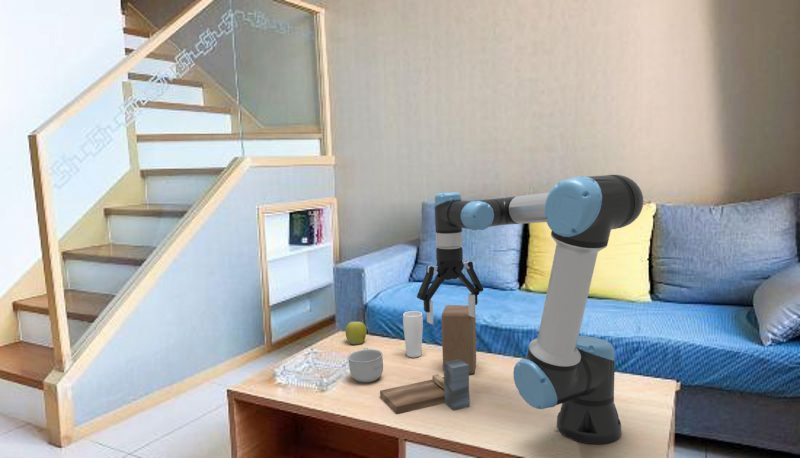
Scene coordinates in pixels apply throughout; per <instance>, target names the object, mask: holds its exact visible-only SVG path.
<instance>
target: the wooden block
mask: <svg viewBox="0 0 800 458" xmlns="http://www.w3.org/2000/svg"><path fill="white" fill-rule="evenodd" d="M476 323H477V321H476V317H471V316H469V306H468V305H467V304H466V305H462V304H461V305H460V304H459V305H458V304H457V305H456V304H447V305H445V307H444V308H443V311H442V313H441V340H442V341H441V345H442V346H441V347H442V371H443V372H444V362H447V361H452V360H457V359H460V360H462V361H463V362H465V363H466V364H468V365H469V375H472V374H474V373H475V369H476V365H477V332H476V331H477V329H476V328H477V325H476Z"/></svg>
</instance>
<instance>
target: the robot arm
mask: <svg viewBox="0 0 800 458" xmlns="http://www.w3.org/2000/svg"><path fill="white" fill-rule="evenodd" d="M643 206H644V195H643V192H642V190H641V188H640V186H639V185H638V184H637V183H636V182H635V181H634V180H633V179H631V178H630V177H627V176H624V175H621V174H607V175H604V174H603V175H594V176H593V175H592V176H590V175H589V176H584V175H580V176H574V177H571V178H567V179H566V178H565V179H563V180H560V181H559V182H558V183H556V184H555V185H554V186H553V187H552V188H551V190H550V191H549V192H542V193H534V194H532V193H531V194H526V195H518V196H508V197H501V198H500V197H499V198H491V199H489V198H488V199H487V198H486V199H477V200H462V195H461V193H460V192H457V191H456V192H452V191H451V192H450V191H449V192H437V193H436V194H435V196H434V206H433V209H434V224H435V225H434V226H435V246H436V249H435V252H436V254H435V255H436V256H435V258H436V265H429V264H428V265H426V267H425V268H426V269H425V270H426V272H425V275H424V278H423V280H422V283H421V284H420V287H419V289H418V292H417V295H416V298H417V299H419V301H423V310H424V312H425V313H426V322H427V323H429V324H430V325H434V303H433V302H434V301H433V300H431V299H432V298H433V297H434V295H435V294H436V292H437V291H438V289H439V287H440V286H441V285H442V283H444V282H445V281H450V280H456V279H457V278H458V280H459V281H460V282H461V283H462V284H463V286H464V287H466V289H467V290H468V291H469V293H467V298H468V299H467V301H468V302H467V304H468V306H469V316H471V317H476V306H477V305H478V303H479V302H478V296H479V295H480V293H481V292H484V288H483V285H482V283H481V281H480V279H479V277H478V276H477V273H476V271H475V269H474V264H473V263H474V262H472V261H470V260H465V261H463V259H464V258H463V257H464V255H463V254H464V253H463V250H464V249H463V247H462V246H463V229H467V230H471V231H484V230H486V229H488V228H491V227H498V226H508V225H519V224H522V225H523V224H535V223H538V224H539V223H540V224H541V223H546V225H547V226H548V228H549V229H550V230H551V232H550V235H551V238H552V239H553V241H554V242H555V244H556V245H555V249H554V254H553V261H552V265H551V270H550V274H549V279H548V280H549V281H548V283H547V290H546V293H545V300H544V304H543V310H542V314H541V318H540V320H541V321H540V323H539V329H538V333H537V338H534V339H532V340H531V341H530V342H529V345H528V349H527V355H526V358H522V359H520V360H519V361H518V362H516V363H515V365H514V368H513V380H514V384H515V387H516V389H517V392H518V393H519V395H520V397H521V398H522V399H523V400H524V402H526V403H527V404H528V405H529V406H530V407H532V408H535V409H537V410H546V409H550V408H555V407H556V406H558V405H561V407H560V410H559V412H558V413H557V417H556V428H557V430H558V432H559V433H560V434H562V435H563V436H564V437H566V438H568V439H570V440H572V441H575V442H579V443H583V444H589V445H590V444H591V445H606V444H610V443H613V442H616V441H617V440H619V439H620V437H621V435H622V423H621V420H620V418H619V412H618V410H617V407H616V404H615V373H616V372H615V368H616V367H615V366H616V357H615V347H614V346H613V344H612V343H610V342H609V341H607V340H604V339H601V338H597V337H594V336H587V335H580V331H581V327H582V324H583V319H584V315H585V310H586V305H587V302H588V297H589V294H590V293H589V292H590V288H591V284H592V279H593V275H594V270H595V268H596V267H595V266H596V263H597V262H596V261H597V257H598V254H599V252H600V251H602V250H604V249H605V248H607V247H608V243H609V239H610V235H611V231H612V230H616V229H622V228H624V227H627V226H629V225H631V224H632V223H634V222H635V221H636V220H637V219H638V218H639V216H640V215H641V214H642V213H641V212H642V210H643V209H644V207H643ZM464 269H465V271H466V273H467V274H468V276H469V279H470V280H471V282H472V283H471V282H470V280H469V279H468V278H467V277H466V275H465V274H464V273H463V270H464ZM436 272H437V274H436ZM434 274H436V276H435V277H434ZM433 278H434V280H433ZM432 280H433V282H432Z"/></svg>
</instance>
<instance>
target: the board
mask: <svg viewBox="0 0 800 458" xmlns="http://www.w3.org/2000/svg"><path fill="white" fill-rule="evenodd" d="M441 377H442V378H443V379H444V376H441ZM379 395H380V396H379V397H380V399H381V400H382V401H384V403H386V404H387V406H388V407H389V408H390V409H391V410H392V411H393V412H394V413H395V414H397V415H399V414H402V413H407V412H411V411H415V410H419V409H424V408H428V407H433V406H437V405H441V404H445V394H444V389H443V388H442V387H441V386H439V385H438V384H437V383H435V382H434V381H433V380H432V379H428V380H424V381H419V382H414V383H409V384H404V385H399V386H395V387H389V388H386V389H381V390H379Z"/></svg>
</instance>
